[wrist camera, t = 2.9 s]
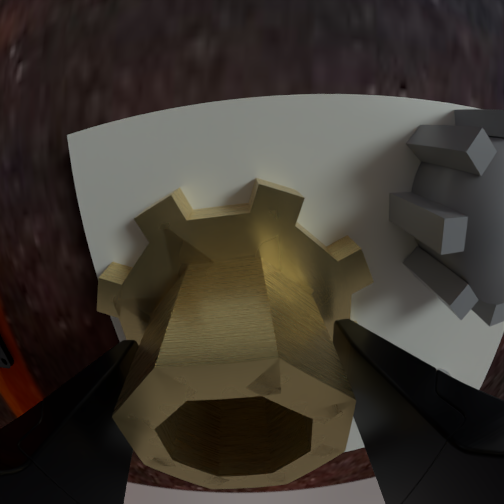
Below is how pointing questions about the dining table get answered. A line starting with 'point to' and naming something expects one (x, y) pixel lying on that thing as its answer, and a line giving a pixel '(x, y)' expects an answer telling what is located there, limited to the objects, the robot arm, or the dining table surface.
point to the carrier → (332, 201)
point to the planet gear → (234, 340)
